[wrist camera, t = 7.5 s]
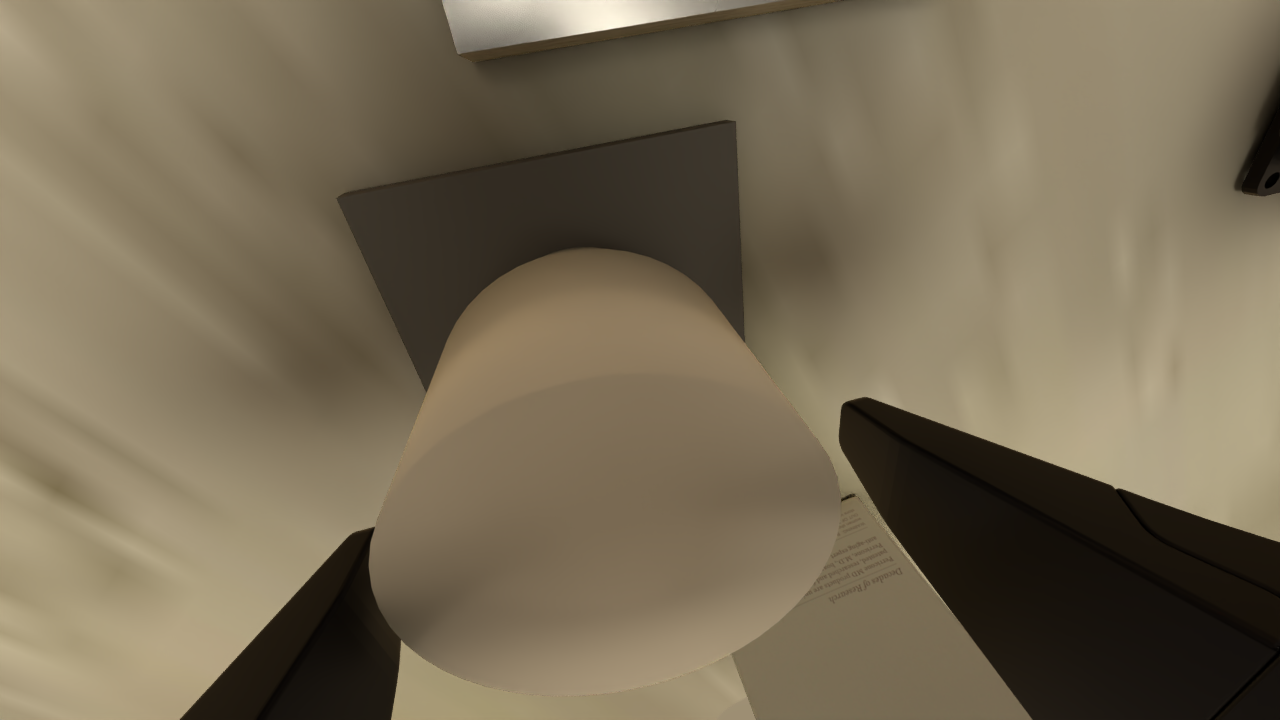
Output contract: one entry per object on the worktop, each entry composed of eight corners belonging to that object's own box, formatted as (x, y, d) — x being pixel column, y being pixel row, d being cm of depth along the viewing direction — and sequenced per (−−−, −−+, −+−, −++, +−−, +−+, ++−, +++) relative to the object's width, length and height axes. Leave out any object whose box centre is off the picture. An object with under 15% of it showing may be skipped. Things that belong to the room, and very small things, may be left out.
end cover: (690, 190, 12) (860, 318, 5) (709, 404, 15) (828, 638, 9) (421, 242, 11) (257, 448, 5) (502, 450, 14) (468, 733, 8)
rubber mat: (726, 119, 12) (735, 121, 11) (740, 411, 16) (748, 421, 16) (345, 192, 11) (336, 198, 10) (475, 480, 15) (473, 494, 15)
